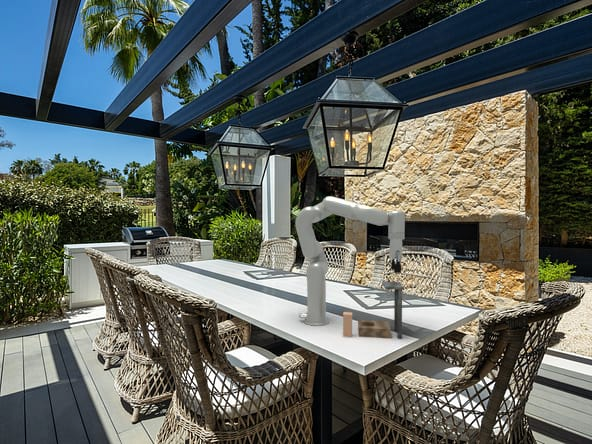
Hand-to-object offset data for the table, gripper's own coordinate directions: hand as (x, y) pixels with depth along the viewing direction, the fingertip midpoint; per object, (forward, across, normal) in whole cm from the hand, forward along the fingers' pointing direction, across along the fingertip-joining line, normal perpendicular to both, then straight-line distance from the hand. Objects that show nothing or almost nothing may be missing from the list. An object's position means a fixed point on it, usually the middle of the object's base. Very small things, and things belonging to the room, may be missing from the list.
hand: (396, 271), depth 161 cm
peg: (+28, +13, -23) cm, 39 cm away
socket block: (+28, +8, -8) cm, 30 cm away
